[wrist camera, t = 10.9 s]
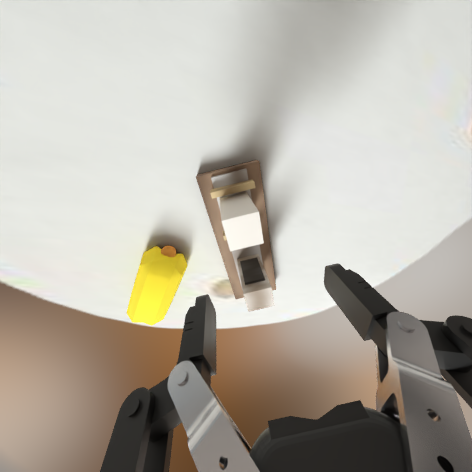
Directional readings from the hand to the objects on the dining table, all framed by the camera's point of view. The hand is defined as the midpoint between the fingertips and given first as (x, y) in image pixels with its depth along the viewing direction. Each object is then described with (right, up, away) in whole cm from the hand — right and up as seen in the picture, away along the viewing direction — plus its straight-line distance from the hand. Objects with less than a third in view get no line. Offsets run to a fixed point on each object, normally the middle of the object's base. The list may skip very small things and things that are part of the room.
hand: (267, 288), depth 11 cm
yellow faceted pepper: (-17, -5, +22) cm, 29 cm away
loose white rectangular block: (-2, +8, +14) cm, 16 cm away
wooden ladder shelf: (-1, +3, +20) cm, 20 cm away
